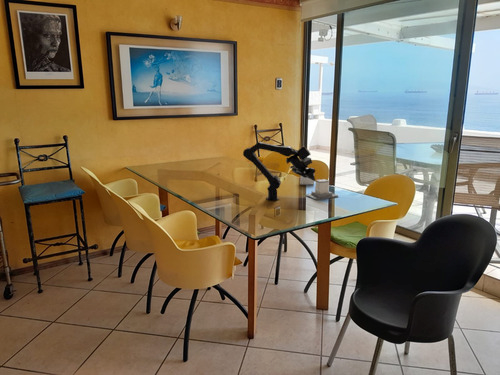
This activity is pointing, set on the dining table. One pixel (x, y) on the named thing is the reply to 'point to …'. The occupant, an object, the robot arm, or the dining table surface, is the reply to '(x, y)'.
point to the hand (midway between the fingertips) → (310, 178)
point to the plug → (322, 186)
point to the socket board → (321, 195)
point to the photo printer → (306, 180)
